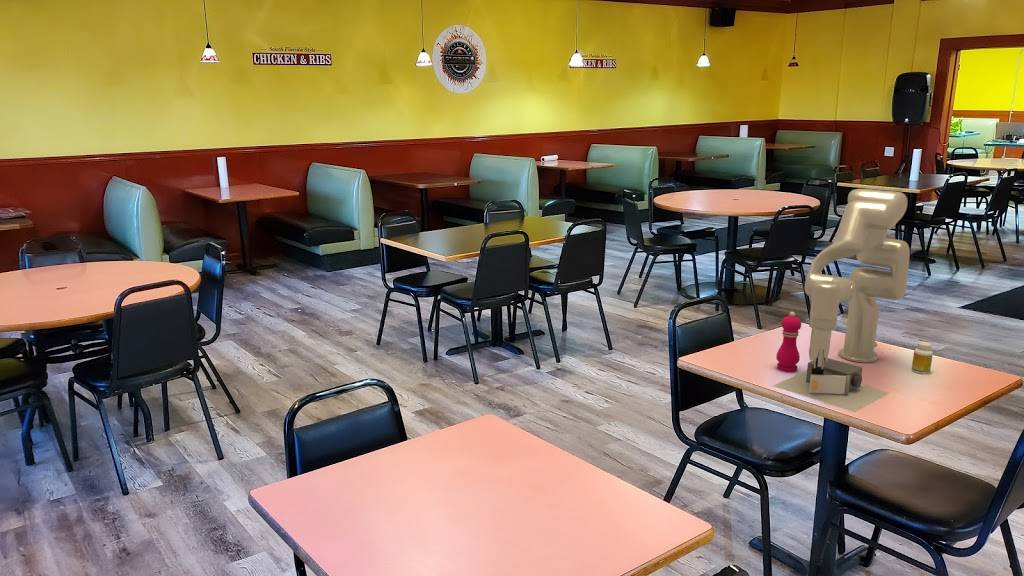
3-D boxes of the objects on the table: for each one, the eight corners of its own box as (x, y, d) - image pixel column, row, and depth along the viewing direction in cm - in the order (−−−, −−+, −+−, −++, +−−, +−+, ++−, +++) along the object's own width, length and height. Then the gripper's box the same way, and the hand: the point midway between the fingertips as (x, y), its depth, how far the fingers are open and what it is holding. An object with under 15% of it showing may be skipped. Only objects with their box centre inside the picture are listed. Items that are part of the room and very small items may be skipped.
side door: (808, 392, 231) (810, 373, 229) (847, 393, 230) (849, 375, 228) (810, 395, 228) (813, 376, 227) (849, 396, 227) (852, 378, 226)
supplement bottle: (925, 375, 247) (930, 347, 244) (908, 371, 250) (912, 343, 248) (932, 371, 250) (936, 343, 248) (915, 367, 254) (919, 339, 251)
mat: (808, 370, 250) (808, 369, 250) (888, 394, 231) (889, 392, 231) (772, 386, 236) (772, 385, 236) (854, 413, 217) (854, 411, 217)
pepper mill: (801, 374, 247) (807, 315, 242) (779, 373, 247) (785, 314, 242) (793, 366, 254) (800, 308, 249) (772, 366, 254) (777, 308, 249)
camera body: (820, 375, 245) (822, 354, 243) (864, 388, 235) (867, 366, 233) (805, 382, 239) (807, 360, 237) (850, 395, 229) (853, 373, 227)
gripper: (808, 314, 235) (802, 370, 239) (810, 328, 221) (804, 387, 226) (834, 316, 232) (828, 372, 237) (838, 331, 219) (831, 390, 223)
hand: (816, 379), depth 231 cm, fingers closed
